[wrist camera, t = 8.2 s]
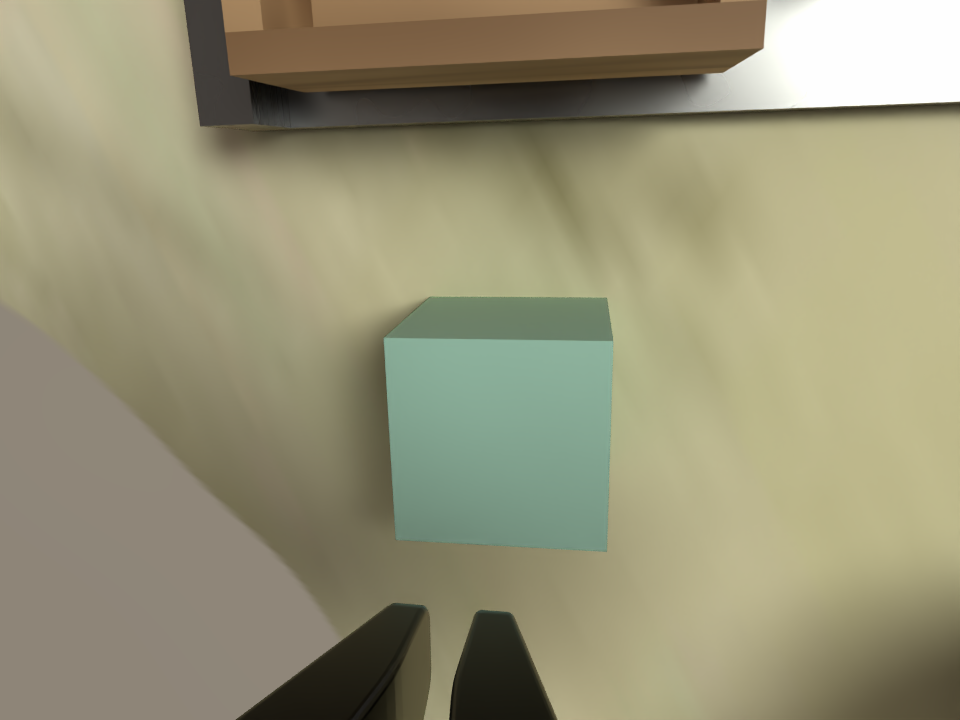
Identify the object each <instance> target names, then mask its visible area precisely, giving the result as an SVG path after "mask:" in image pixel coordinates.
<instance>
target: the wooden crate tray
mask: <svg viewBox="0 0 960 720" xmlns="http://www.w3.org/2000/svg"><path fill="white" fill-rule="evenodd" d="M221 2H222V11H223V19H224V28H225V36H226V45H227V54H228V62H229V71H230V76H235V77H239V78H243V79H248V80H252V81H256V82H261V83H265V84H270V85H274V86H278V87H283V88H287V89H291V90H296V91H300V92H327V91H348V90H369V89H391V88H412V87H434V86H455V85H477V84H498V83H520V82H541V81H563V80H584V79H605V78H627V77H648V76H670V75H691V74H713V73H724V72H726V71H727V70H729V69H730V68H732V67H734V66H735V65H737V64H739V63H740V62H742V61H744V60H745V59H747V58H748V57H750V56H752V55H753V54H755V53H757V52H758V51H760V50H762V49H763V48H764V37H765V23H766V9H767V0H221Z"/></svg>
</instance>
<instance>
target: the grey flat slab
mask: <svg viewBox="0 0 960 720" xmlns="http://www.w3.org/2000/svg"><path fill="white" fill-rule="evenodd" d="M184 5H185V12H186V20H187V28H188V35H189V43H190V51H191V59H192V66H193V74H194V82H195V89H196V97H197V105H198V113H199V120H200V126H204V127H216V128H229V129H239V130H248V131H266V130H292V129H318V128H344V127H369V126H395V125H421V124H447V123H472V122H498V121H524V120H550V119H575V118H601V117H627V116H653V115H678V114H704V113H730V112H755V111H781V110H807V109H833V108H858V107H884V106H910V105H936V104H960V0H767V9H766V23H765V37H764V48H763V49H762V50H760V51H758V52H757V53H755V54H753V55H752V56H750V57H748V58H747V59H745V60H744V61H742V62H740V63H739V64H737V65H735V66H734V67H732V68H730V69H729V70H727V71H726V72H724V73H713V74H691V75H670V76H648V77H627V78H605V79H584V80H563V81H541V82H520V83H498V84H477V85H455V86H434V87H412V88H391V89H369V90H348V91H327V92H300V91H296V90H291V89H287V88H283V87H278V86H274V85H270V84H265V83H261V82H256V81H252V80H248V79H243V78H239V77H235V76H230V71H229V62H228V54H227V45H226V36H225V28H224V19H223V11H222V2H221V0H184Z"/></svg>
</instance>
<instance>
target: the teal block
mask: <svg viewBox="0 0 960 720" xmlns="http://www.w3.org/2000/svg"><path fill="white" fill-rule="evenodd" d="M384 352H385V369H386V386H387V403H388V419H389V436H390V453H391V470H392V487H393V503H394V520H395V537H396V540H405V541H423V542H441V543H459V544H477V545H494V546H512V547H530V548H548V549H566V550H584V551H602V552H607V531H608V498H609V465H610V432H611V399H612V366H613V336H612V329H611V323H610V316H609V309H608V302H607V298H550V297H429V298H428V299H427V300H426V301H425V302H424V303H423V304H421V305H420V306H419V307H418V308H417V309H416V310H415V311H414V312H412V313H411V314H410V315H409V316H408V317H407V318H406V319H404V320H403V321H402V322H401V323H400V324H399V325H398V326H397V327H395V328H394V329H393V330H392V331H391V332H390V333H389V334H388V335H386V336H385V337H384Z"/></svg>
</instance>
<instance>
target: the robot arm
mask: <svg viewBox="0 0 960 720" xmlns="http://www.w3.org/2000/svg"><path fill="white" fill-rule="evenodd" d="M430 680H431V646H430V617H429V612H428V610H427V608H426V607H425V606H423V605H413V604H401V603H393V604H391V605H389V606H387V607H386V608H384V609H383V610H382V611H380V612H379V613H378V614H376V615H375V616H374V617H372V618H371V619H370V620H368V621H367V622H366V623H364V624H363V625H362V626H360V627H359V628H358V629H356V630H355V631H354V632H352V633H351V634H350V635H348V636H347V637H346V638H344V639H343V640H342V641H340V642H339V643H338V644H336V645H335V646H334V647H332V648H331V649H330V650H328V651H327V652H326V653H324V654H323V655H322V656H320V657H319V658H318V659H316V660H315V661H314V662H312V663H311V664H310V665H308V666H307V667H306V668H304V669H303V670H302V671H300V672H299V673H298V674H296V675H295V676H294V677H292V678H291V679H290V680H288V681H287V682H286V683H284V684H283V685H282V686H280V687H279V688H277V689H276V690H275V691H274V692H272V693H271V694H270V695H268V696H267V697H265V698H264V699H263V700H261V701H260V702H259V703H257V704H256V705H255V706H253V707H252V708H251V709H249V710H248V711H247V712H245V713H244V714H243V715H241V716H240V717H239V718H237V719H236V720H424V715H425V709H426V704H427V699H428V694H429V688H430ZM449 720H557V717H556V715H555V713H554V710H553V708H552V705H551V703H550V701H549V698H548V696H547V694H546V691H545V689H544V686H543V684H542V682H541V679H540V677H539V675H538V672H537V670H536V667H535V665H534V663H533V660H532V658H531V656H530V653H529V651H528V648H527V646H526V644H525V641H524V639H523V636H522V634H521V632H520V629H519V627H518V625H517V622H516V620H515V618H514V616H513V615H512V614H511V613H509V612H501V611H488V610H480V611H478V612H476V614H475V615H474V618H473V621H472V624H471V627H470V630H469V633H468V636H467V639H466V642H465V645H464V649H463V652H462V655H461V658H460V661H459V664H458V667H457V670H456V674H455V678H454V681H453V687H452V695H451V705H450V717H449Z"/></svg>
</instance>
